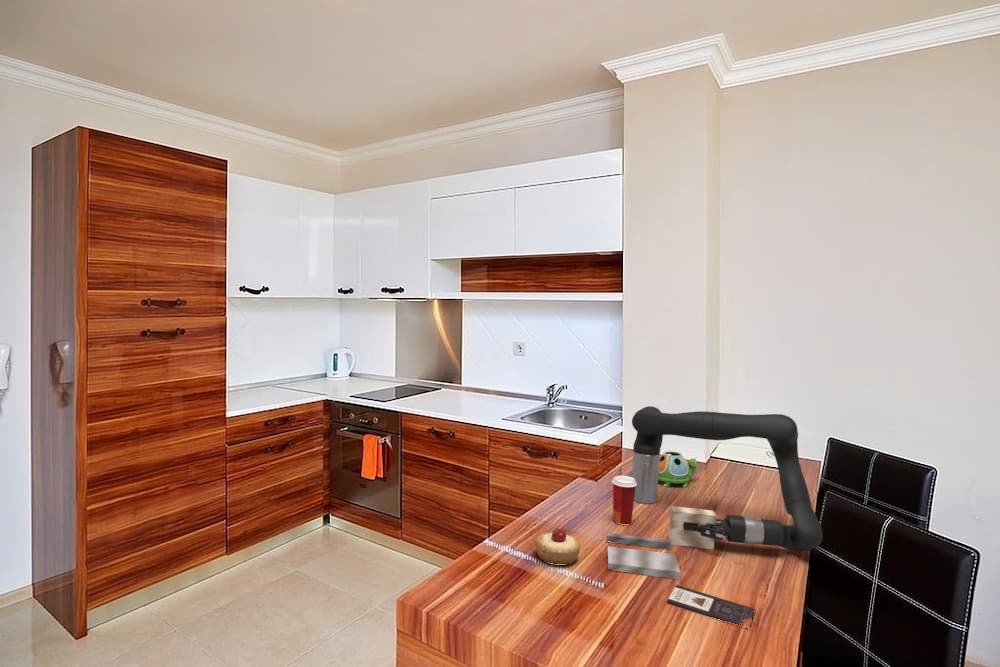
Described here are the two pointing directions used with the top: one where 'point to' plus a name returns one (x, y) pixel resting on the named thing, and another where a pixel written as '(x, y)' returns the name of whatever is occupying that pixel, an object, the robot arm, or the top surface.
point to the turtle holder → (675, 468)
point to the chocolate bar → (709, 605)
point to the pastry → (557, 547)
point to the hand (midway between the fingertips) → (682, 522)
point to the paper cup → (623, 498)
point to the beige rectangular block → (690, 537)
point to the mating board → (642, 557)
